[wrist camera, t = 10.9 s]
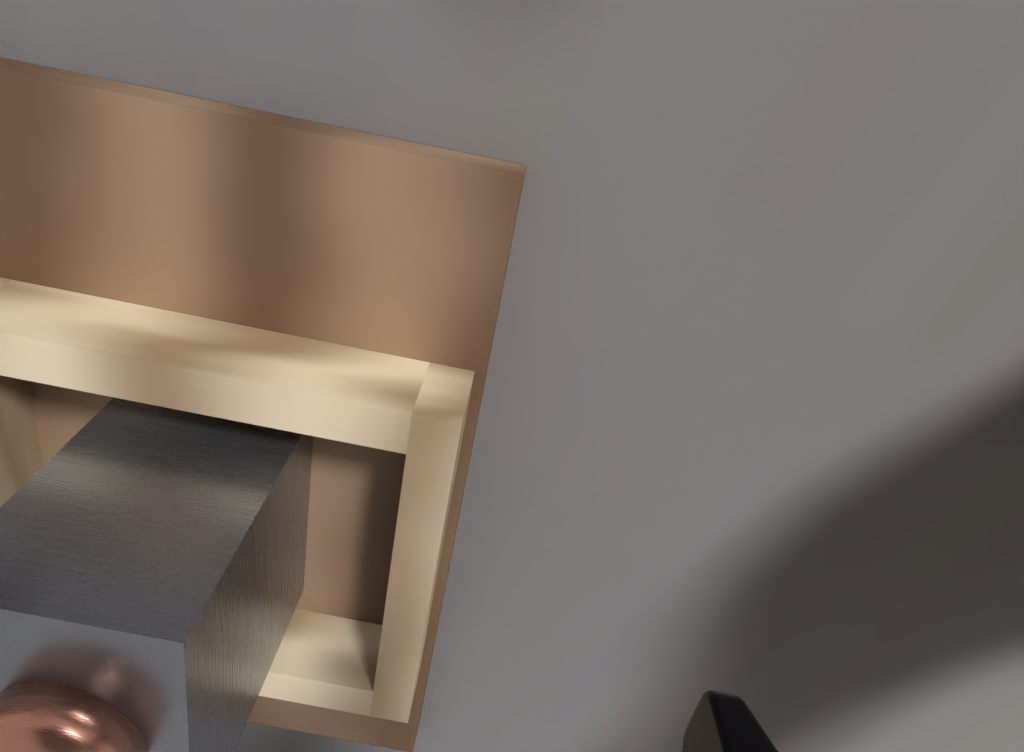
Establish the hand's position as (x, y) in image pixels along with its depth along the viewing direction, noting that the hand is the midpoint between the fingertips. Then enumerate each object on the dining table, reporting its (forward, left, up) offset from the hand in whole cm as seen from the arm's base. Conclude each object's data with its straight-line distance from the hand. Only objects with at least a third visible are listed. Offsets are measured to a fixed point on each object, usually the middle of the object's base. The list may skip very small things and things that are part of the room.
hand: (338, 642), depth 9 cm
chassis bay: (+6, +8, -12) cm, 16 cm away
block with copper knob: (+6, +8, -11) cm, 15 cm away
